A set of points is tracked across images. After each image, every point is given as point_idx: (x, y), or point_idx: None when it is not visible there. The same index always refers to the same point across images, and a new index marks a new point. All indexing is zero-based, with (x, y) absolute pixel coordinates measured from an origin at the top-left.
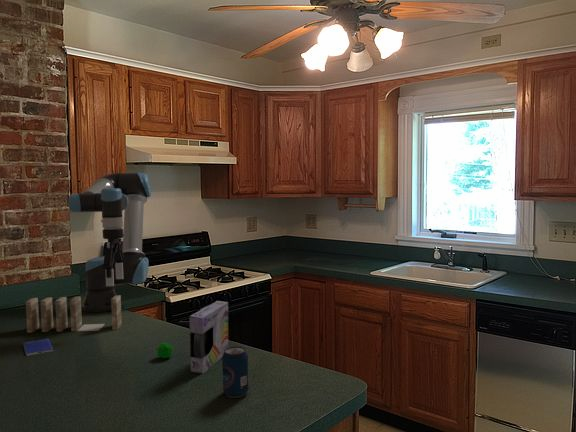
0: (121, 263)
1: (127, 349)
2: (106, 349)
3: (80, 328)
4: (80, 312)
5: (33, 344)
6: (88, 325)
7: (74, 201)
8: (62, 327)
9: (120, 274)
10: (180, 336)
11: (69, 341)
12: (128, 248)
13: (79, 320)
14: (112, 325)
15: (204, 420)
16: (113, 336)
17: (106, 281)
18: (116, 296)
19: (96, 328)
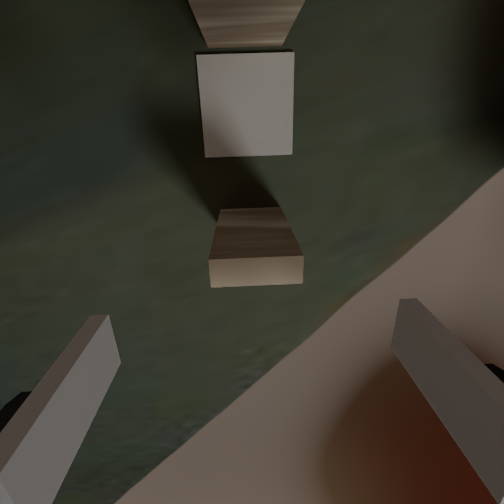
0: (496, 491)
1: (20, 316)
2: (4, 258)
3: (230, 58)
4: (277, 24)
5: None
6: (275, 83)
7: None
8: None
9: (415, 361)
10: (150, 412)
11: (57, 78)
12: None
13: (251, 37)
14: (219, 214)
15: None
16: (137, 238)
17: (71, 347)
18: (274, 269)
19: (226, 141)
